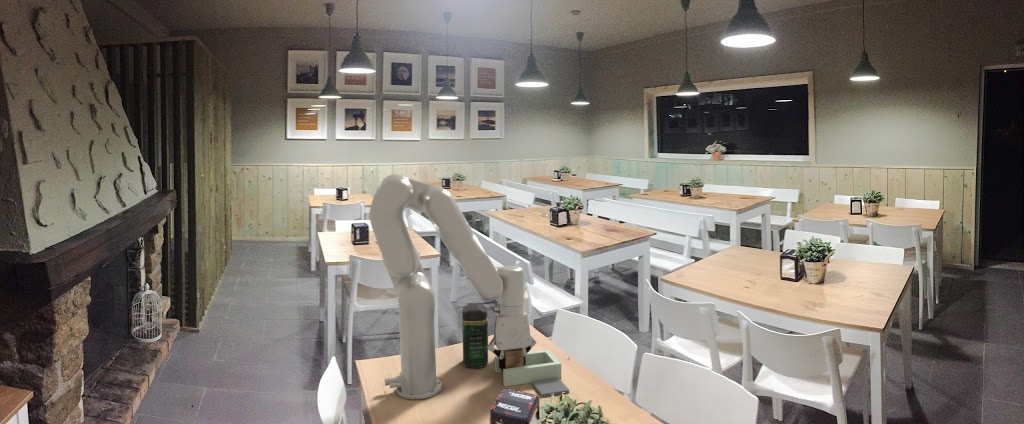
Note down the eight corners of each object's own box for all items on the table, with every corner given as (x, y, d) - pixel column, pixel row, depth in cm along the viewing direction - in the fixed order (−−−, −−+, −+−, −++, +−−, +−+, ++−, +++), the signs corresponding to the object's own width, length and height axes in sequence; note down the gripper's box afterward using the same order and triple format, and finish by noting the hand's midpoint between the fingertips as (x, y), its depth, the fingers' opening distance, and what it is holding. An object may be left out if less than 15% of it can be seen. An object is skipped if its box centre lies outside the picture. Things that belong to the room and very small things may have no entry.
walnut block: (507, 382, 155) (506, 352, 154) (501, 373, 161) (501, 344, 160) (523, 379, 156) (523, 349, 155) (517, 371, 162) (517, 342, 161)
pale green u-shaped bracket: (504, 386, 152) (504, 371, 152) (495, 370, 163) (494, 356, 162) (561, 378, 157) (561, 363, 156) (548, 363, 167) (548, 349, 167)
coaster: (541, 396, 146) (541, 394, 146) (532, 384, 153) (532, 381, 153) (569, 392, 148) (569, 389, 148) (558, 380, 156) (558, 377, 156)
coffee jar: (489, 368, 164) (488, 309, 162) (463, 370, 164) (461, 310, 161) (488, 356, 174) (486, 300, 171) (463, 357, 173) (461, 301, 171)
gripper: (485, 316, 150) (487, 378, 152) (543, 309, 155) (544, 370, 157) (479, 308, 157) (481, 367, 159) (535, 302, 162) (535, 360, 164)
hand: (512, 368), depth 158 cm, fingers closed on walnut block, 5 cm apart
